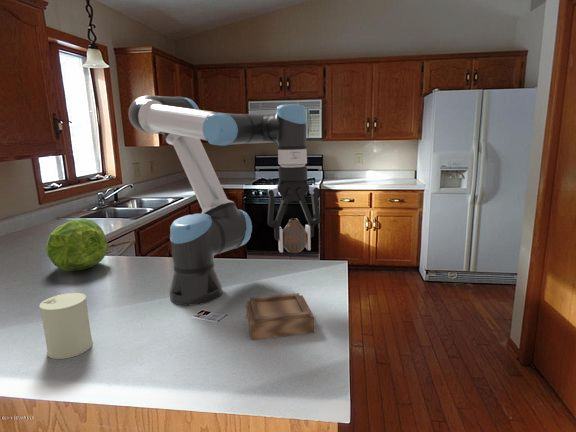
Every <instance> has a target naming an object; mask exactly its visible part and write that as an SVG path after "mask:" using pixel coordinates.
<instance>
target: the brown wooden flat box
mask: <svg viewBox="0 0 576 432" xmlns="http://www.w3.org/2000/svg"><path fill="white" fill-rule="evenodd" d="M245 308H246V319H247V324H248V331H249V334H250V336H249V337H250V340H251V341H253V340H262V339H263V340H264V339H270V338H271V339H272V338H278V337H279V338H280V337H288V336H297V335H304V334H305V335H307V334H313V333H315V316H314V313H313V312H312V310H311V308H310V306H309V305H308V303H307V301H306V299H305V297H304V296H303V295H302V294H300V293H299V292H298V293H287V294H286V293H285V294H279V295H278V294H277V295H268V296H267V295H266V296H258V297H257V296H256V297H250V298H249V300H245Z"/></svg>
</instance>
